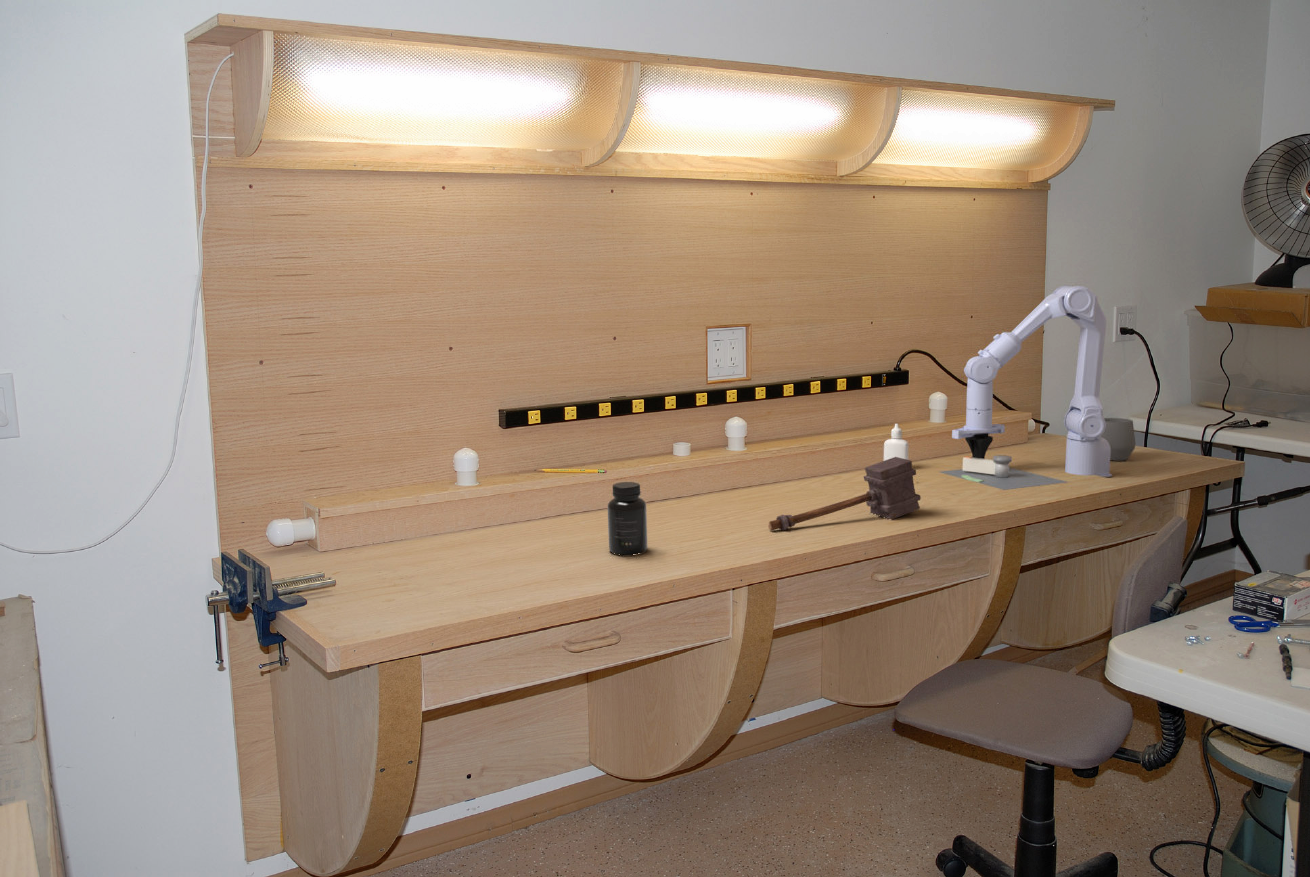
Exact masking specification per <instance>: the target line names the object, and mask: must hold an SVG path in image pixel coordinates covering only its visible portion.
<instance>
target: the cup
mask: <svg viewBox="0 0 1310 877" xmlns="http://www.w3.org/2000/svg"><path fill="white" fill-rule="evenodd" d="M1104 420H1105V423H1106V427H1105V431H1104V432H1103V434H1102V435H1101V437H1102V438H1104V439H1106V440H1107V441H1108V443H1109V445H1110V449H1111V454H1110V460H1113V461H1112V462H1121V461H1126V460H1128V459H1129V458H1130V456H1131V455H1132V453H1133V452H1134V450H1135V448H1136V436H1135V428H1134V427H1135V426H1134V420H1132V419H1128V418H1119V417H1104Z"/></svg>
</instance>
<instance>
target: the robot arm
mask: <svg viewBox="0 0 1310 877" xmlns="http://www.w3.org/2000/svg"><path fill="white" fill-rule="evenodd" d="M1062 317H1068V318H1070V319H1071V320H1072V322H1074V323H1075V324H1076V325H1077V326H1078V327H1079V340H1078V353H1077V360H1076V361H1077V363H1076V372H1075V373H1076V374H1075V382H1074V383H1075V384H1074V395H1073V397H1072V399H1071V400H1070V402H1069V407H1068V410H1067V412H1066V413H1065V415H1064V418H1063V424H1064V427H1065V429H1066V430H1067V431H1068V432H1067V434H1066V445H1065V460H1064V461H1065V464H1064V466H1065V467H1064V473H1067V474H1071V475H1076V476H1077V475H1078V476H1097V477H1101V478H1109V477H1112V476H1113V474H1112V473H1110V471H1111V470H1110V468H1111V461H1110V454H1111V449H1110V445H1109V443H1108V441H1107V440H1106V439H1104V438H1102V437H1101V435H1102V434H1103V432H1104V431H1105V427H1106V423H1105V420H1104V418H1105V417H1104V415H1103V413H1104V411H1103V410H1104V407H1103V405H1102V402H1101V399H1100V391H1101V381H1102V380H1101V378H1102V370H1103V369H1102V368H1103V361H1104V360H1103V358H1104V350H1105V349H1104V348H1105V339H1106V337H1105V336H1106V327H1107V318H1106V316H1105V314H1104V312H1103V310H1102V308H1101V306H1100V304H1099V301H1098V296H1097V295H1096V294H1095V293H1094V292H1093V291H1092V290H1090V289H1089V288H1088V287H1086V286H1082V285H1076V286H1073V285H1072V286H1071V285H1062V286H1059V287H1057V288H1056V289H1055V290H1054V291H1053V292H1052V293H1050V294H1049V295H1047V296H1046V297H1045V298H1044V299H1043V300H1042V301H1041V302H1040V303H1039V304H1038V305H1037V306H1036V307H1035V308H1034V309H1033V310H1032V311H1031V312H1030V313H1029V314H1028V315H1027V316H1026V317H1025V318H1023V320H1022V321H1021V322H1020V323H1019V324H1018V325H1017V326H1016V327H1014V329H1013V330H1012V331H1011V332H1009V331H1007V332H1006V331H1004V332H1002V333H1001V334H999V333H998V334H995V335H994V336H993V337H992V338H993V341H992V342H990V343H989V344H988V345H987V346H986V347H985V348H984V349H983V350H982V349H979V351H978V352H977V354H978V355H977V356H973V357H971V358H969V359H968V361H967V362H966V364H965V367H964V368H963V372H964V375H965V376H966V378H967V386H966V387H967V388H966V409H965V410H966V412H965V413H966V414H965V424H964V425H963V427H960V428H956V429H952V431H951V438H952V439H956V440H961V439H965V441H966V442H967V445H968V446H969V449H970V451H971V454H972V456H971V457H972V458H981V459H986V458H985V456H986V453H987V451H988V449H989V447H990V446H991V444H992V443H993V440H994V438H993V437H994V436H992V435H994V434H1005V429H1006V428H1005V427H1006V426H1005V424H1000V423H995V424H993V400H994V399H993V397H994V389H993V386H994V385H993V384H994V382H993V381H994V379H996V377H997V375H998V373H999V372H998V371H999V370H1000V369H1001V368H1003V367H1004V366H1005V365H1006V364H1007V363H1009V361H1010V360H1011V359H1013V358H1014V357H1015V356H1017V354H1019V352H1020V351H1021V350H1022V343H1023V342H1024V341H1025V340H1026V339H1027V338H1029V337H1030V336H1031V335H1032V334H1034V333H1035V331H1037V330H1038V329H1040V328H1041V327H1042V326H1044V325H1045V324H1046V323H1047V322H1048V321H1049V320H1051V319H1056V318H1062ZM990 435H991V436H990Z"/></svg>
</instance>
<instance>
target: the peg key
mask: <svg viewBox="0 0 1310 877" xmlns="http://www.w3.org/2000/svg"><path fill="white" fill-rule="evenodd" d="M1012 461H1013V460H1012V456H1011V455H1006V454H1005V455H1004V454H1003V455H1002V454H1000V455H999V454H997V455H993V456H992V459H989V458H984V459H981V458H972V456H964V457H962V469H963V471H971V472H979V473H987V474H995V477H1001V478H1006V477H1008V476H1009V468H1010V463H1012Z"/></svg>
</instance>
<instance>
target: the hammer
mask: <svg viewBox="0 0 1310 877" xmlns="http://www.w3.org/2000/svg"><path fill="white" fill-rule="evenodd" d="M864 471H865V474H866V475H864V476H863V479H864V482H867V483H868V491H866V493H865V494H862V495H858V496H855V497H853V498H852V497H851V498H849V499H846V500H843V501H842V500H841V501H839V502H836V503H835V502H834V503H833V504H829V505H826V506H822V507H820V508H816V509H813V510H810V511H806V512H802V513H799V514H794V515H792V514H786V515H785V514H780V515H778V516H776V519H774V520H770V521H768V530H769V531H774V530H780V529H781V530H780V531H782V530H784V531H786V530H787V529H789V528H793V527H794V526H795V525H797V524H800V523H803V522H807V521H811V520H812V519H817V518H819V517H822V516H823V517H824V516H827V515H830V514H832V513H836V512H838V511H842V510H845V509H847V508H850V507H854V506H857V505H860V504H863V503H866V506H867V507H870V512H869V513H870V514H871V513H873V514H872V515H874V514H876V515H875V516H877V515H880V516H882V517H881V518H883V517H885V518H884V519H886V518H887V520H889V519H892V520H895V519H897V518H899V517H902V516H905V515H906V514H909V513H912V512H915V511H918V510H919V509H921V508H920V504H919V501H920V500H921V497H922V496H921V495H920V494H918V493H916V489H915V484H914V476H916V475H917V469H914V468H913V462H912V460H910V459H908V460H907V459H903V458H899V457H894V458H891V459H888V460H885V461H884V460H883V461H881V462H878V463H874V464H872V465H869V466H865V467H864ZM880 516H879V517H880Z"/></svg>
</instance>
